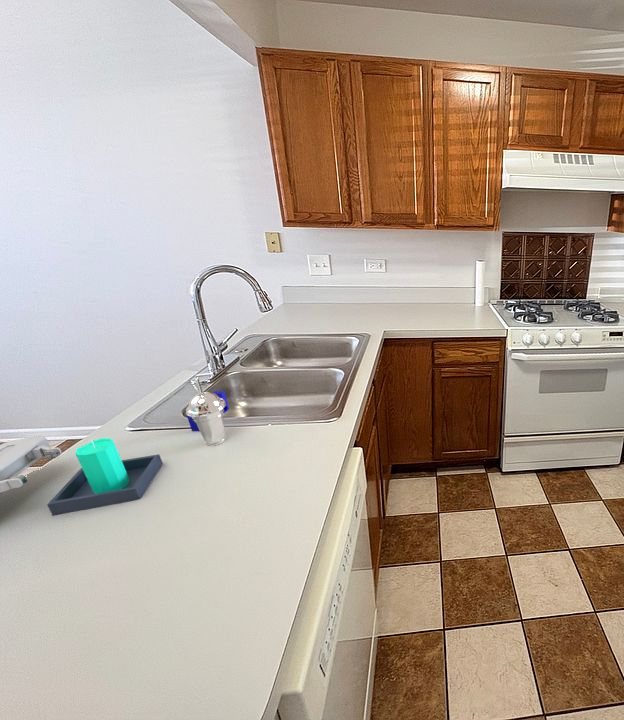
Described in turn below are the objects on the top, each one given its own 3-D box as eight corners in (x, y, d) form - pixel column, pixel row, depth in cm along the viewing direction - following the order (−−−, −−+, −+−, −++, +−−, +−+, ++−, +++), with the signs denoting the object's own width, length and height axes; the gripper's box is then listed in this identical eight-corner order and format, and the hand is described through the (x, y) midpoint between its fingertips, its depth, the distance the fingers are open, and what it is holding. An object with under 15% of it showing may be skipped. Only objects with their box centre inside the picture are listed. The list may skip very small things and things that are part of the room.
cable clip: (214, 409, 119) (209, 391, 116) (229, 409, 119) (224, 391, 116) (186, 431, 108) (180, 411, 105) (202, 431, 107) (196, 412, 105)
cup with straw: (225, 428, 109) (206, 361, 101) (242, 439, 104) (223, 369, 96) (191, 443, 102) (167, 372, 95) (206, 455, 97) (183, 382, 90)
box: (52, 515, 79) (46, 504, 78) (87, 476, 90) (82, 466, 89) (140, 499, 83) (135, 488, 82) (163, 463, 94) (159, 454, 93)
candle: (128, 473, 91) (109, 428, 86) (131, 486, 87) (111, 440, 82) (92, 486, 87) (71, 439, 82) (94, 500, 83) (71, 452, 78)
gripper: (9, 457, 89) (82, 449, 92) (-88, 526, 70) (7, 513, 73) (-5, 433, 86) (71, 426, 89) (-109, 498, 68) (-9, 486, 71)
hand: (41, 465), depth 81 cm, fingers open, 8 cm apart
